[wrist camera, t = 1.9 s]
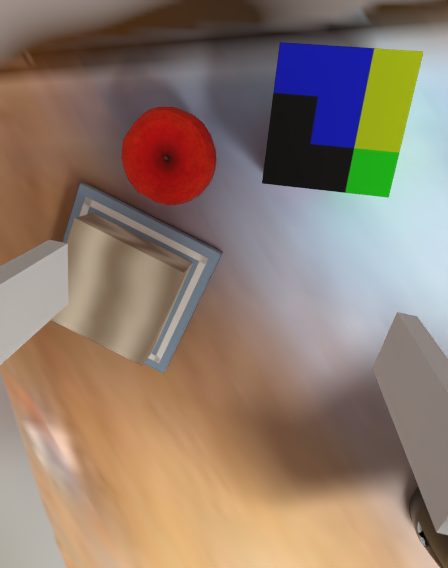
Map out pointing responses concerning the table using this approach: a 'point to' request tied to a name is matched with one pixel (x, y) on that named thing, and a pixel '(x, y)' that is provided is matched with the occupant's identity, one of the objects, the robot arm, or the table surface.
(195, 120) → the apple
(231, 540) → the table surface
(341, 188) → the puzzle toy
